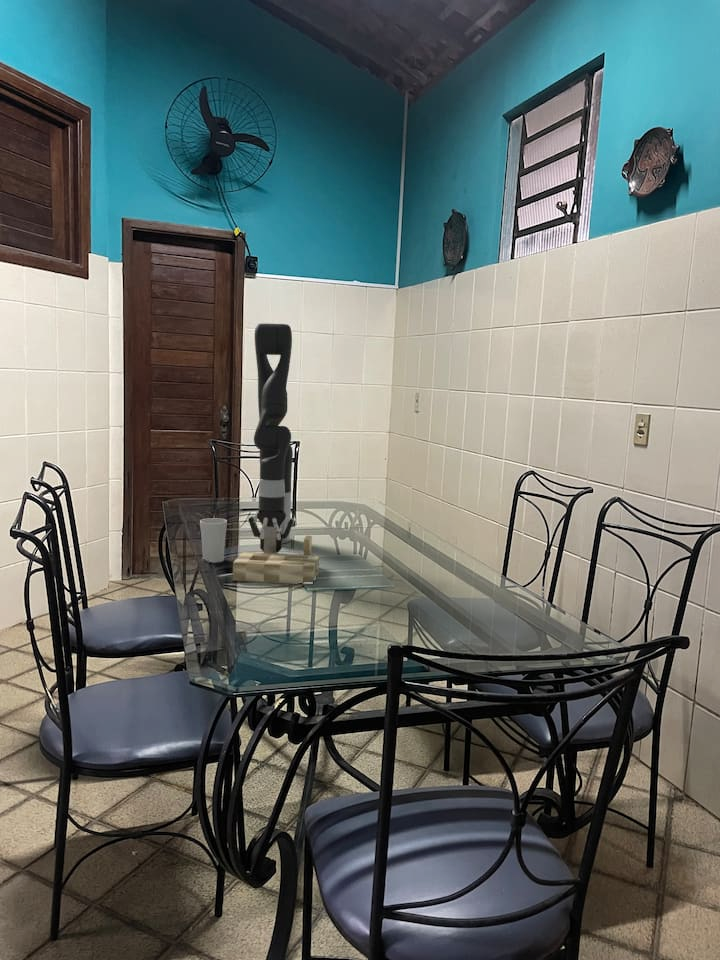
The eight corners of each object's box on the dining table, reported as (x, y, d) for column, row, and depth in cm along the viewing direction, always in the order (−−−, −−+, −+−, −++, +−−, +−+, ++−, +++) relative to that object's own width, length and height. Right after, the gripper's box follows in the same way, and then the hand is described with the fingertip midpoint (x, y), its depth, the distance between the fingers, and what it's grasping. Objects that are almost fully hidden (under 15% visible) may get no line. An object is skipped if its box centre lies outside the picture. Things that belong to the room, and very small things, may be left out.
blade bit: (305, 564, 207) (306, 535, 205) (311, 565, 206) (311, 535, 205) (303, 569, 201) (303, 539, 200) (308, 569, 201) (309, 539, 200)
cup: (200, 563, 204) (200, 523, 202) (199, 556, 211) (199, 518, 210) (227, 562, 206) (228, 523, 204) (225, 556, 214) (225, 517, 212)
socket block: (243, 568, 200) (243, 551, 199) (318, 572, 199) (319, 555, 198) (232, 580, 188) (233, 562, 188) (313, 584, 187) (313, 566, 186)
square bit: (266, 556, 207) (266, 523, 205) (278, 556, 206) (278, 524, 205) (263, 559, 203) (264, 526, 201) (275, 560, 203) (276, 527, 201)
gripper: (297, 492, 205) (296, 549, 208) (250, 490, 206) (250, 546, 209) (293, 497, 198) (292, 555, 200) (244, 495, 198) (244, 553, 201)
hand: (270, 550), depth 204 cm, fingers closed on square bit, 3 cm apart
